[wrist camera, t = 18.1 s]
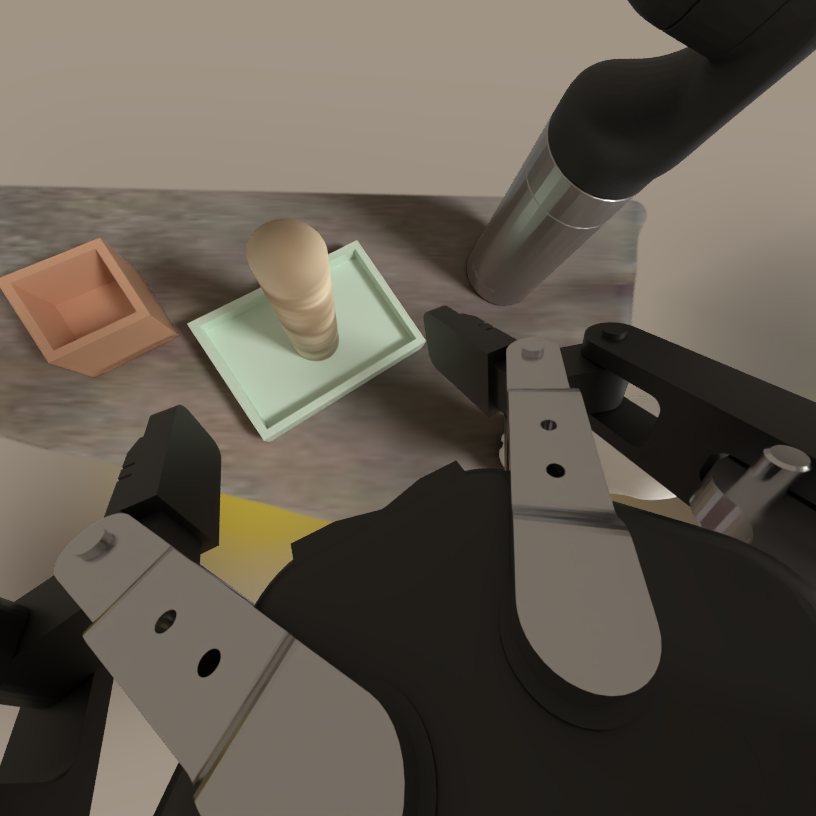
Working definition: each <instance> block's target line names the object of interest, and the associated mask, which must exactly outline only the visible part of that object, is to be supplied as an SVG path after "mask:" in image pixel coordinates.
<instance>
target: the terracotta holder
mask: <svg viewBox="0 0 816 816" xmlns="http://www.w3.org/2000/svg"><path fill="white" fill-rule="evenodd" d="M0 288H1V290H2V291H3V293H4V294H5V296H6V297H7V299H8V301H9V302H10V304H11V305H12V307H13V308H14V310H15V311H16V313H17V315H18V316H19V318H20V319H21V321H22V322H23V324H24V325H25V327H26V329H27V330H28V332H29V333H30V335H31V336H32V338H33V340H34V341H35V343H36V344H37V346H38V347H39V349H40V350H41V352H42V354H43V355H44V357H45V358H46V360H47V361H48V363H50V364H53V365H56V366H60V367H63V368H66V369H69V370H72V371H76V372H79V373H82V374H85V375H88V376H92V377H95V378H96V377H98V376H100V375H102V374H104V373H106V372H108V371H110V370H112V369H114V368H116V367H118V366H120V365H122V364H124V363H126V362H128V361H130V360H132V359H134V358H136V357H138V356H140V355H142V354H144V353H146V352H148V351H150V350H152V349H154V348H156V347H158V346H160V345H162V344H164V343H166V342H168V341H170V340H172V339H174V338H176V337H178V336H180V335H179V334H178V332H177V331H176V329H175V328H174V326H173V325H172V323H171V322H170V320H169V319H168V317H167V316H166V314H165V313H164V311H163V310H162V308H161V307H160V305H159V303H158V302H157V300H156V299H155V297H154V296H153V294H152V293H151V291H150V290H149V288H148V287H147V285H146V284H145V282H144V281H143V279H142V278H141V276H140V275H139V273H138V271H137V270H136V269H135V268H134V267H133V266H132V265H130V264H129V263H128V262H127V261H126V260H125V259H124V258H122V257H121V256H120V255H119V254H118V253H117V252H116V251H115V250H113V249H112V248H111V247H110V246H109V245H108V244H107V243H105V242H104V241H103V240H102V239H101V238H98V239H96V240H93V241H91V242H88V243H86V244H83V245H81V246H78V247H76V248H73V249H71V250H68V251H66V252H63V253H61V254H58V255H56V256H53V257H51V258H48V259H46V260H43V261H41V262H38V263H36V264H33V265H31V266H28V267H26V268H23V269H21V270H18V271H16V272H13V273H11V274H8V275H6V276H3V277H0Z"/></svg>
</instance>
